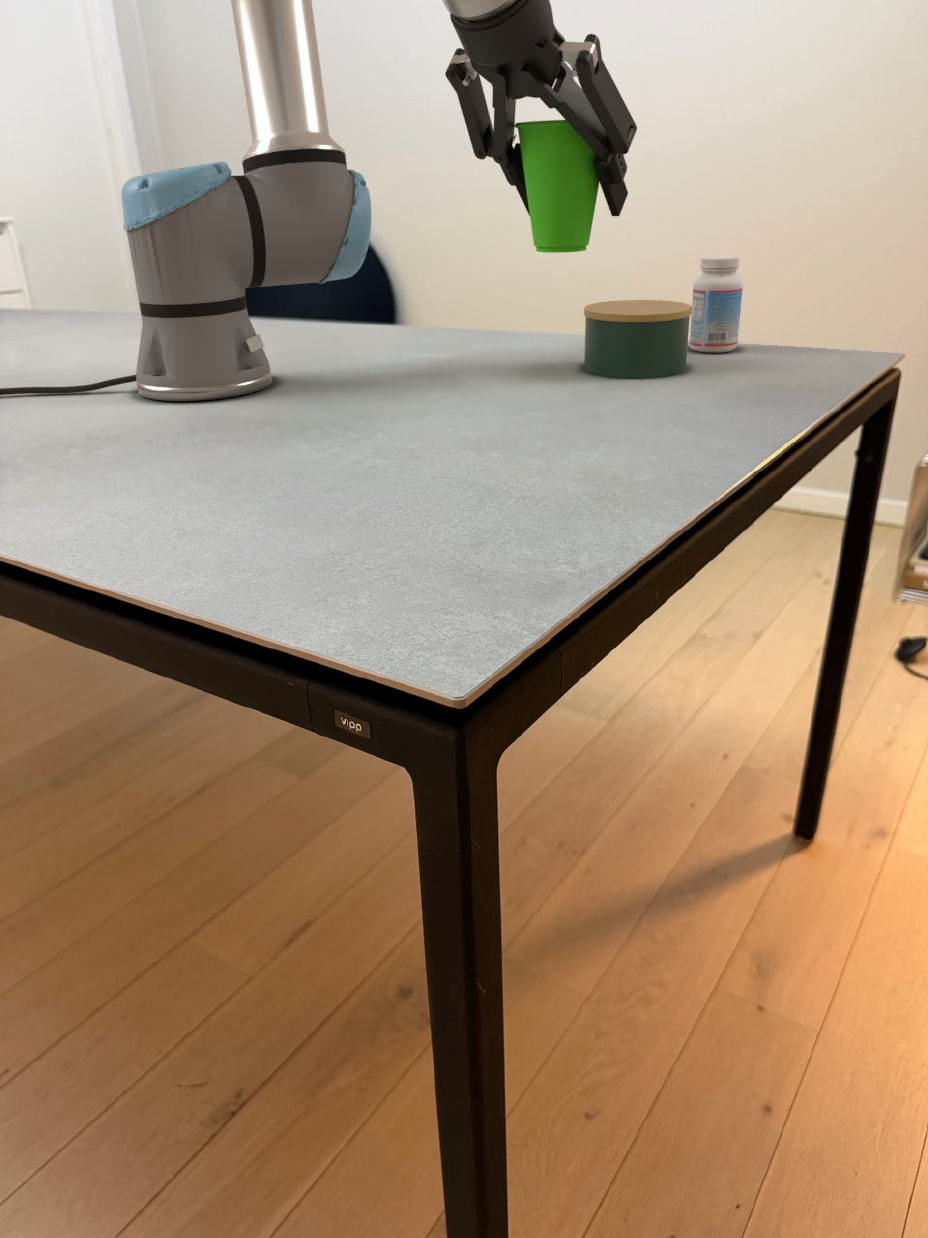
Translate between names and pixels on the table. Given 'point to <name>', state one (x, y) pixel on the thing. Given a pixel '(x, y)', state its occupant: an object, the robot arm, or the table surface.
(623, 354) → the tin
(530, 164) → the cup
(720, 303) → the pill bottle
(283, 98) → the robot arm
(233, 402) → the table surface
